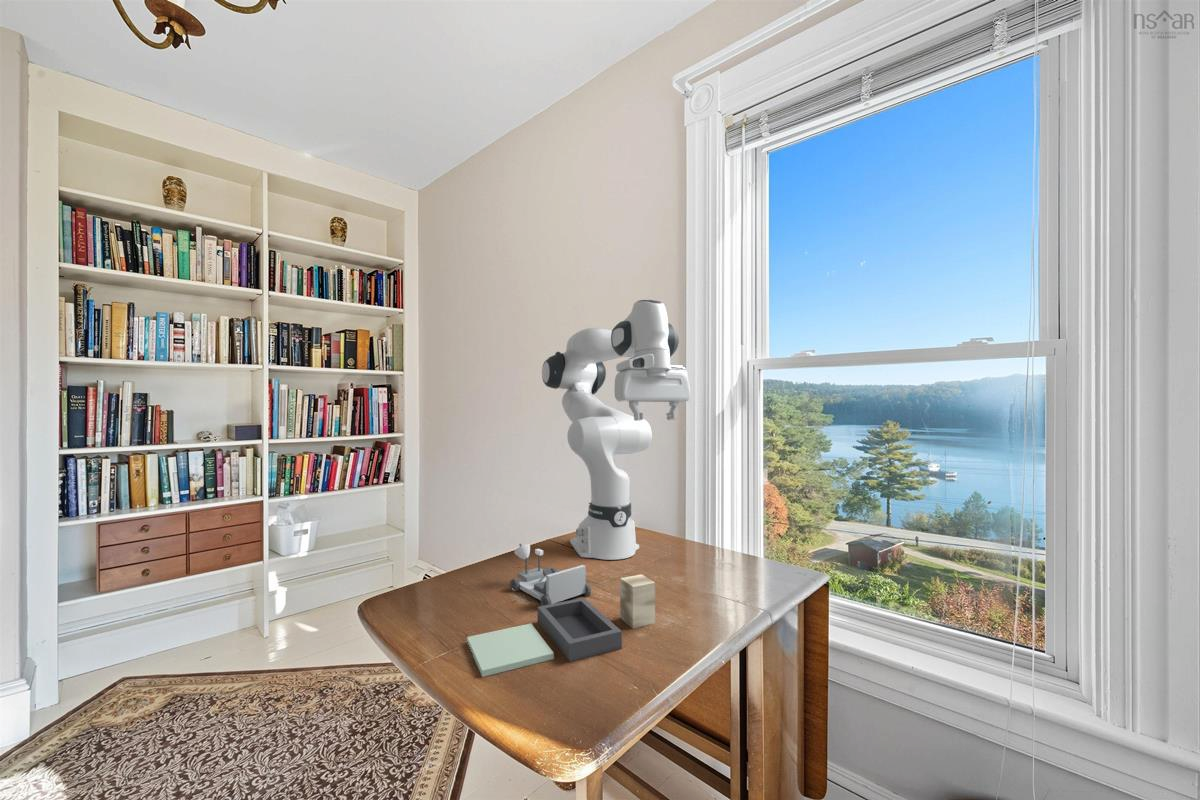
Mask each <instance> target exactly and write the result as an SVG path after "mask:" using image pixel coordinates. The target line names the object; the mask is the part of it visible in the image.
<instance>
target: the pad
mask: <svg viewBox="0 0 1200 800" xmlns="http://www.w3.org/2000/svg"><path fill="white" fill-rule="evenodd" d="M467 642H468V643H467ZM466 643H467V646H468V645H469V646H468V648H469V647H470V648H469V650H470V649H471V650H470V652H472V653H471V655H472V654H473V655H472V657H473V659H474V661H475V664H476V666H477V668H478V671H479V673H480V675H481V678H483V677H489V676H492V675H495V674H501V673H504V672H508V671H511V670H515V669H520V668H523V667H528V666H531V665H536V664H539V663H543V662H548V661H551V660H554V659H555V655H554V654H555V653H554V651H553V650H552V649H551V647H550V646H549V644H548V643H547V642H546V640H544V638H543V637H542V635H540V633H539V632H538V630H537V629H536V627H534V625H533V624H532V622H531V623H527V624H523V625H522V624H521V625H518V626H512V627H508V628H503V629H499V630H494V631H489V632H484V633H479V634H476V635H470V636H467V637H466Z"/></svg>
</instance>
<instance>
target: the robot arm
mask: <svg viewBox="0 0 1200 800" xmlns="http://www.w3.org/2000/svg"><path fill="white" fill-rule="evenodd" d="M632 305H633V306H632V309H631V312H630V313H629V314H628V316H627V317H626V318H625V319H624V320H623V321H620V322H618V323H617V324H616V325H615V326H614V327H613V328H612V330H610V329H606V328H599V327H598V328H597V327H589V328H585V329H582V330H579V331H577V332H576V333H574V334H572V336H570V337H569V339H568V340H567V343H566V350H565V352H563V353H561V352H560V351H556V352H555V354H554V355H551V356H549V357H548V358H547V359H545V361H544V362H543V363H542V367H541V368H542V370H541V377H542V382H543V383H544V385H545V386H546V387H548V388H550V389H555V390H557V389H561V390H562V389H563V390H566V391H565V392H564V394H563V396H562V399H561V404H562V408H563V411H564V413H565V414H566V416H567V417H568V419H569V420H570V421H571V424H570V426H569V428H568V430H567V437H566V439H567V443H568V446H569V447H570V450H571V451H572V452H574V454H576V455H577V456H578V457H579V458H581V459H582V461H583V462H584V465H585V466H586V468H587V470H588V474H589V479H590V492H591V494H590V495H591V497H590V498H591V499H590V500H591V501H590V502H588V512H587V514H588V515H587V516H586V517H585V518H584V519H583V520H581V521H580V523H578V528H575V529H576V530H575V534H576V537H573V538H571V539H570V540H569V541H570V545H571V546H572V548H574V549H573V550H575V551H576V553H577V555H578V556H579V557H581V558H587V559H588V558H591V559H599V560H611V561H613V560H624V559H628V558H630V557H633V556H634V555H636V552H637V551H638V550H639V549H640V544H638V543H637V542H636V541H637V539H636V528H635V520H633V519H632V518H631V517H632V502H631V499H630V498H631V497H630V496H631V482H630V481H631V479H630V476H629V475H628V473H627V472H626V471H625V470H623V469H622V468H621V467H618V466H616V464H615V462H614V457H613V456H614V455H631V454H635V453H640V452H642V451H645V450H647V449H648V448H649V446H651V443H652V439H653V432H652V428H651V425H650V423H649V422H648V421H647V420H646V419H645V418H644V417H643V415H644V413H643V412H640V410H639V408H638V406H639V403H649V402H650V403H653V402H654V403H663V402H664V403H668V404H669V407H670V410H669V412H667V413H666V420H667V421H676V413H677V410H678V408H679V406H680V404H679V403H683V402H689V401H690V399H691V397H692V394H691V387H690V381H689V380H690V379H689V376H688V375H689V374H688V370H687V369H686V368H685V367H683V365H679V364H678V365H675V364H671V357H672V356H673V355H674V354H675V352H676V351H677V349H678V347H679V344H680V343H679V341H680V339H679V335H678V333H677V331H676V329H675V328H674V327H673V325H672V324H671V323H669V321H668V320H669V319H668V314H667V308H666V306H665V304H664V302H661V301H659V300H655V299H654V300H652V299H640V300H637V301H635V302H634V303H633V304H632ZM620 358H627V359H626V360H622V361H620V362H619V363H616V367H615V369H616V372H617V373H616V375H615V378H614V398H615V399H616V401H617V402H618V403H619V402H620V403H623V402H625V403H626V402H627V403H628V407H629V408H630V410H631V412H632V413H633V415H630V414H628V413H625V412H623V411H621V410H618V409H617V408H613V407H611V406H609V405H607V404H605V403H603V402H602V401H601V400H600V399H599V398H598V397H596V395H595V394H596V393H597V392H598V391H599V390H600V388H602V386H603V385H604V383H605V381H606V377H607V373H606V371H607V370H606V367H605V364H604V362H607V361H611V360H616V359H620Z"/></svg>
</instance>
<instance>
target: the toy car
mask: <svg viewBox="0 0 1200 800" xmlns="http://www.w3.org/2000/svg"><path fill="white" fill-rule="evenodd" d="M530 552H531V544H528V543H527V544H524V545H522V543H519V547H518V548H516V549H515V550H514V554H515V555H516V557H518V558H520V559H522V560H524V561H525V564H524V565H525V566H524V567H525V569H524V571H519V572H518V573H517V578H516V577H515V578H512V579H511V580H510V583H509V585H510V589H511V588H513V589H514V590H515V591H518V590H519V591H520V590H521V591H522V592H523V593H524V592H525V593H526V594H527V595H528V594H529V595H530V596H532V597H533V598H535V599H537V600H539V601H540V606H545V605H550V604H555V603H560V602H564V601H565V600H566V601H567V600H568V599H571V598H574V597H577V596H581V595H583V596H585V597H589V596H590V595H591V593H592V589H591V586H590V583H588V582H587V579H586V576H587V573H586V572H587V570H586V568H587V566H586V565H585V564H584V565H583V564H581V565H578V566H575V567H574V566H573V567H570V568H567V569H564V570H560V571H558V570H557V569H556V567H551V568H549V567H544V569H543V568H541V556H543V555H544V550H543V549H541V548H535V549H534V554H536V555H537V556H538V557H537V558H538V562H537V563H538V564H537V566H538V567H536V568H532V569H528V558H529V557H530V555H531V553H530ZM518 579H520V581H519V580H518ZM515 591H514V592H515ZM519 591H518V592H519Z"/></svg>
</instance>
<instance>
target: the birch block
mask: <svg viewBox="0 0 1200 800" xmlns="http://www.w3.org/2000/svg"><path fill="white" fill-rule="evenodd" d="M619 582H620V589H619V590H620V592H619V593H620V594H619V595H620V598H619V599H620V600H619V603H620V604H619V605H620V607H619V609H620V611H619V612H620V613H619V617H620V619H621V620H622V621H623V622H624V623H625V624H627V625H628V626H629V627H630V628H631V629H633V630H634V629H638V628H642V627H645V626H650V625H654V624H656V582H655V581H653V580H651V579H650V578H649V577H647V576H645V575H644V574H641V573H640V574H637V575H630V576H626V577H621V578H620V579H619Z"/></svg>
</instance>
